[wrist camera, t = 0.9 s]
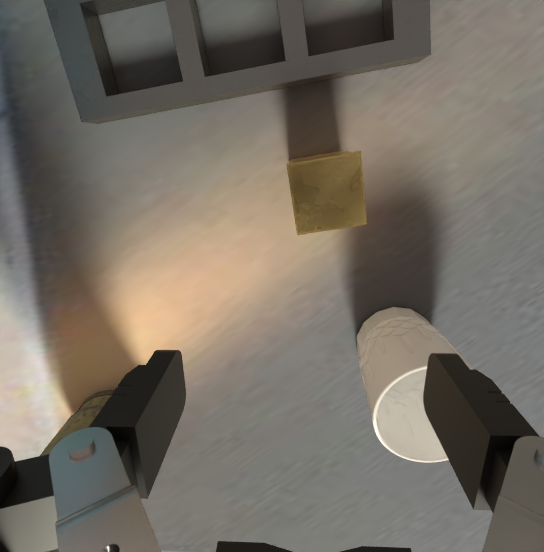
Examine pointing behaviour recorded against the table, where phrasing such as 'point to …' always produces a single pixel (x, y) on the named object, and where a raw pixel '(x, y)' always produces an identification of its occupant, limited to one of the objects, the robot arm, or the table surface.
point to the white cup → (401, 380)
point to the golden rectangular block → (327, 191)
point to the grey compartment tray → (193, 61)
